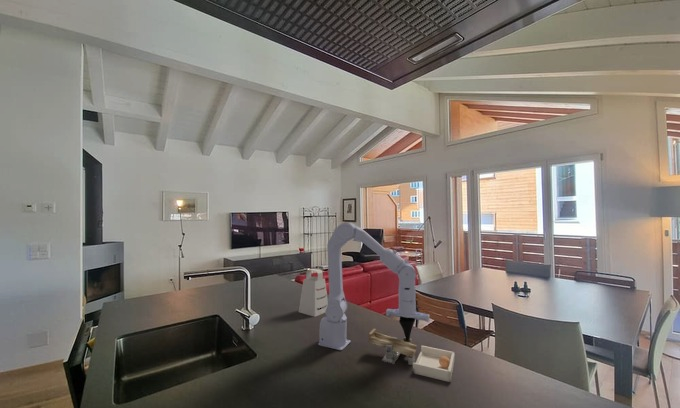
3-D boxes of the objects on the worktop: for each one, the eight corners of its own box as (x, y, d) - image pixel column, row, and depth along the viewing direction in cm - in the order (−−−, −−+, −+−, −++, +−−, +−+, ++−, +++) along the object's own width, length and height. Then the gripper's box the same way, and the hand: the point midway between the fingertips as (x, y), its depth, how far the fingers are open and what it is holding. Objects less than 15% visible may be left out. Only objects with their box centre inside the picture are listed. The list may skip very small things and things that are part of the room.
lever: (367, 341, 96) (368, 333, 96) (378, 330, 106) (379, 322, 106) (413, 357, 89) (414, 348, 89) (419, 343, 99) (420, 335, 99)
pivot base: (382, 361, 92) (382, 345, 92) (389, 350, 99) (389, 335, 100) (410, 368, 88) (410, 351, 88) (416, 356, 95) (416, 340, 95)
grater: (312, 306, 147) (313, 267, 148) (329, 310, 141) (329, 269, 141) (298, 312, 138) (299, 270, 139) (315, 316, 132) (315, 272, 133)
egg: (437, 358, 87) (448, 359, 85) (439, 353, 90) (449, 354, 88) (439, 369, 87) (450, 370, 85) (440, 364, 89) (451, 365, 88)
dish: (413, 373, 85) (413, 363, 85) (421, 353, 97) (421, 345, 97) (450, 382, 80) (450, 372, 80) (454, 360, 92) (454, 352, 92)
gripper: (430, 298, 100) (431, 338, 99) (389, 294, 106) (390, 331, 105) (427, 304, 93) (428, 347, 93) (384, 299, 100) (384, 339, 99)
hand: (407, 339), depth 99 cm, fingers closed, pressing on lever
